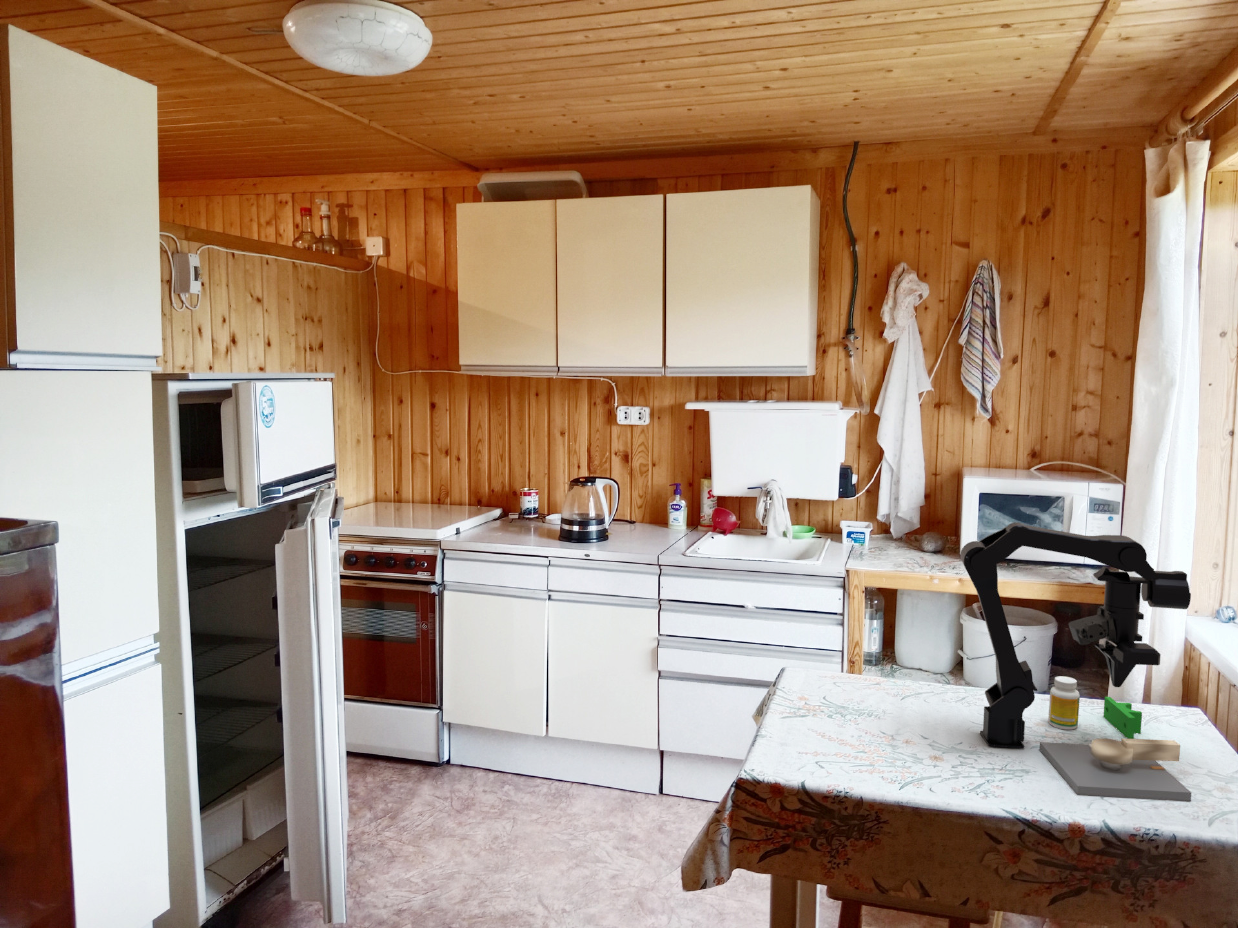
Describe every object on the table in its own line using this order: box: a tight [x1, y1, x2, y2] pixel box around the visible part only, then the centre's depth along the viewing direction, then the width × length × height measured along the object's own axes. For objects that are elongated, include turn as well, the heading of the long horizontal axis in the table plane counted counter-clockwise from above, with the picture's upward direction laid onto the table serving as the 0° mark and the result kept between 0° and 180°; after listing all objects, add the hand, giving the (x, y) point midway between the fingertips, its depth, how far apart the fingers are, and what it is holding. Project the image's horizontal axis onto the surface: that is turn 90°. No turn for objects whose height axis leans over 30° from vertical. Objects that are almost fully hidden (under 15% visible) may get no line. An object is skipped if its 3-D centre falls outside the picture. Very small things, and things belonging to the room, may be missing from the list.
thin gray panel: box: [1038, 741, 1192, 802], centre depth 156 cm, size 18×18×3 cm
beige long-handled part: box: [1091, 737, 1181, 765], centre depth 155 cm, size 14×6×3 cm, turn 85°
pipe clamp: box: [1102, 696, 1143, 739], centre depth 177 cm, size 11×4×5 cm, turn 173°
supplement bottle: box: [1047, 675, 1081, 731], centre depth 178 cm, size 5×5×10 cm
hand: (1116, 686), depth 163 cm, fingers closed
